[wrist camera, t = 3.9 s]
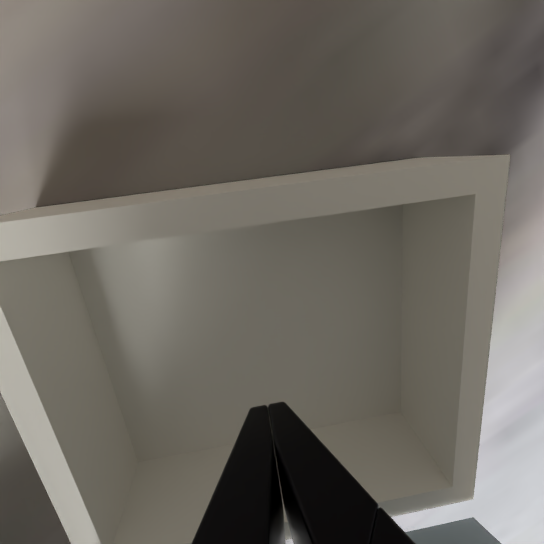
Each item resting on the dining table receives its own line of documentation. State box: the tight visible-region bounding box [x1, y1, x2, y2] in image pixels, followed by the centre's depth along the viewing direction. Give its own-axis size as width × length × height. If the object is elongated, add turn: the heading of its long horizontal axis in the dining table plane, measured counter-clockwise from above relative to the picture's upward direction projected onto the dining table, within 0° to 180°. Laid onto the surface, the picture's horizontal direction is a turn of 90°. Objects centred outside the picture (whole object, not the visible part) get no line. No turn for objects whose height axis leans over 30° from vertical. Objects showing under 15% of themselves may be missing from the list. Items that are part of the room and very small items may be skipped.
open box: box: [0, 155, 510, 544], centre depth 14 cm, size 14×16×5 cm
